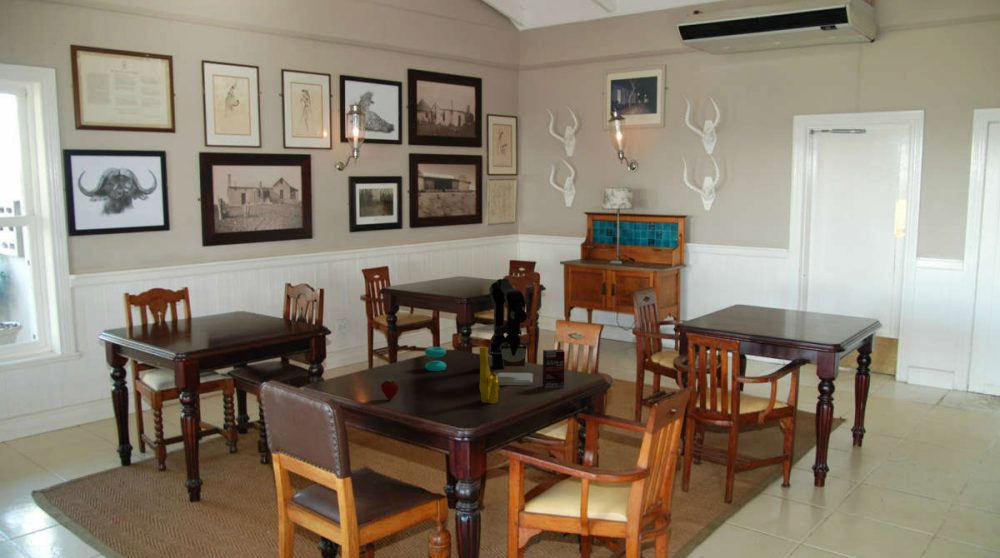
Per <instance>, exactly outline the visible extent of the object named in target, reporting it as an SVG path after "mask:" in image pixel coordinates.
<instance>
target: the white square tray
mask: <svg viewBox="0 0 1000 558" xmlns="http://www.w3.org/2000/svg"><path fill="white" fill-rule="evenodd" d="M496 375H497V380H498V386H532V385H534V381H533V380H534V373H532V372H498V373H496Z"/></svg>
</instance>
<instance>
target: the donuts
mask: <svg viewBox="0 0 1000 558" xmlns="http://www.w3.org/2000/svg"><path fill="white" fill-rule="evenodd" d="M446 353H447V349H446V348H444V347H442V346H431V347H427V348H426V349H425V350H424V354H425V355H426V356H427V357H431V358H440V357H444V356H445V355H446ZM424 368H425V370H426V371H429V372H442V371H444V370H446V369H447V363H445V361H441V360H430V361H428V362H427V363H425V365H424ZM441 370H442V371H441Z"/></svg>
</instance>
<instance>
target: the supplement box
mask: <svg viewBox="0 0 1000 558" xmlns="http://www.w3.org/2000/svg"><path fill="white" fill-rule="evenodd" d="M565 357H566V356H565V351H564V350H563V349H542V387H543V386H544V387H545V388H544V387H543V388H544V389H559V388H560V389H561V387H565V360H566V359H565Z"/></svg>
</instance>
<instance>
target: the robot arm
mask: <svg viewBox="0 0 1000 558" xmlns="http://www.w3.org/2000/svg"><path fill="white" fill-rule="evenodd" d="M488 290H489V295H490V299H491V301H492V302H493V326H494V327H493V335H492V336H491V338H490V343H489V345H488V347H487V350H488V356H490V357H491V365H490V370H493V369H494V370H495V369H496V370H498V369H499V370H500V369H501V370H504V369H505V368H506V367H504V366H503V360H502V353H501V349H500V346H501V344H503V343H505V342H507V343H509V344H510V347H511V352H512V356H515V354H516V351H517V349H518V346H519V343H520V342H521V340H522V339H521V338H522V335H523V334H522V329H521V323H522V324H523V323H525V321H526V320H527V318H528V314H527V312H526V311H525V310H524V309H523V308H526V304H527V303H526V300H525V296H524V294H523V292H522V291H521V290H519V289H516V288H515V287H514V286H513V285H512V284H511V282H510V280H509V279H507V278H498V279H497V280H496V281H495V282H493V283H492V284H491V285H490V287H489V289H488ZM504 305H506V308H507V313H506V314H507V315H506V316H507V320H506V324H505V323H504V322H505V320H504V319H505V317H504V314H505V313H504V312H505V310H504V309H505V306H504ZM505 334H506V336H505Z"/></svg>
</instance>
